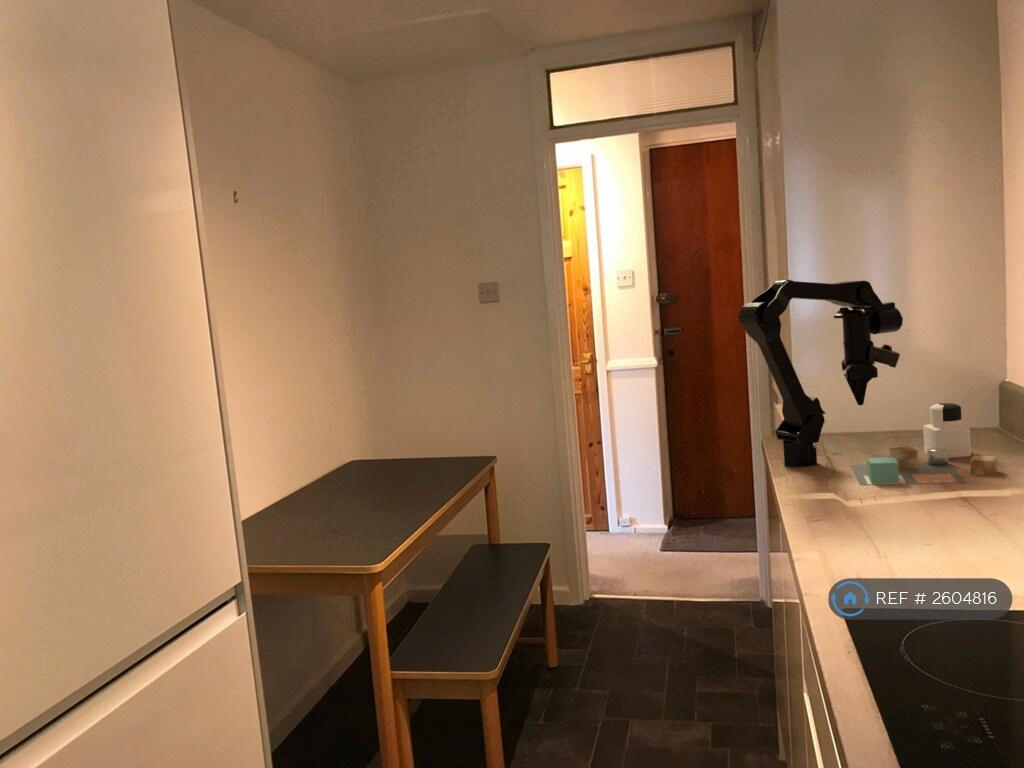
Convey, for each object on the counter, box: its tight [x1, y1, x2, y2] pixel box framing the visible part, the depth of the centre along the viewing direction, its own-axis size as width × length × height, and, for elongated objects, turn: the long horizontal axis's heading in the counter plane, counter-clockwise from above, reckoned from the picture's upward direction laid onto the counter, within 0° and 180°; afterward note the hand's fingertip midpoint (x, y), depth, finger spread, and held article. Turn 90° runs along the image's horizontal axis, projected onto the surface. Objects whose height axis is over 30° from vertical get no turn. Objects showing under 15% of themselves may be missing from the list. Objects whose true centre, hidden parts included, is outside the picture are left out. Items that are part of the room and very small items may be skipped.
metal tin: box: [926, 448, 950, 466], centre depth 175 cm, size 4×4×3 cm
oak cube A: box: [888, 445, 919, 471], centre depth 174 cm, size 4×4×4 cm
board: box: [850, 461, 968, 486], centre depth 170 cm, size 19×18×1 cm
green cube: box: [866, 456, 899, 483], centre depth 166 cm, size 5×5×4 cm
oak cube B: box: [970, 455, 998, 477], centre depth 165 cm, size 4×4×4 cm
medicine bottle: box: [922, 402, 972, 459], centre depth 183 cm, size 7×7×12 cm
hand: (860, 405), depth 190 cm, fingers closed
